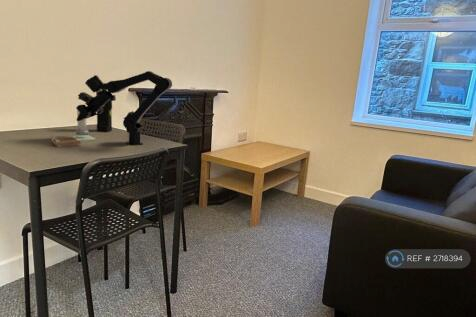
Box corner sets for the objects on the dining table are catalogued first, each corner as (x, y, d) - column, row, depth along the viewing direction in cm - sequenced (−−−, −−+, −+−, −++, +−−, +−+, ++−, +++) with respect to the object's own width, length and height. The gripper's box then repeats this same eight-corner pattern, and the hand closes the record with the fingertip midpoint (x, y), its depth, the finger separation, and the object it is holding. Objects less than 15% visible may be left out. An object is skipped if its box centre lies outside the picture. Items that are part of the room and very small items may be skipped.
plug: (87, 135, 173) (86, 107, 170) (74, 135, 172) (73, 106, 169) (89, 133, 179) (88, 106, 176) (77, 132, 178) (76, 105, 174)
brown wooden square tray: (80, 145, 162) (80, 140, 161) (57, 147, 155) (57, 141, 155) (74, 141, 169) (74, 136, 169) (52, 142, 163) (51, 137, 162)
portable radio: (114, 130, 203) (114, 87, 197) (109, 132, 197) (109, 88, 191) (101, 129, 204) (100, 86, 198) (96, 131, 198) (95, 86, 192)
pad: (95, 140, 176) (95, 138, 175) (74, 141, 169) (74, 140, 169) (89, 136, 183) (89, 135, 183) (68, 137, 176) (68, 136, 176)
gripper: (97, 86, 179) (76, 106, 182) (79, 87, 161) (57, 109, 163) (112, 103, 180) (91, 122, 183) (96, 106, 162) (74, 127, 165)
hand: (79, 120), depth 174 cm, fingers closed on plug, 4 cm apart
